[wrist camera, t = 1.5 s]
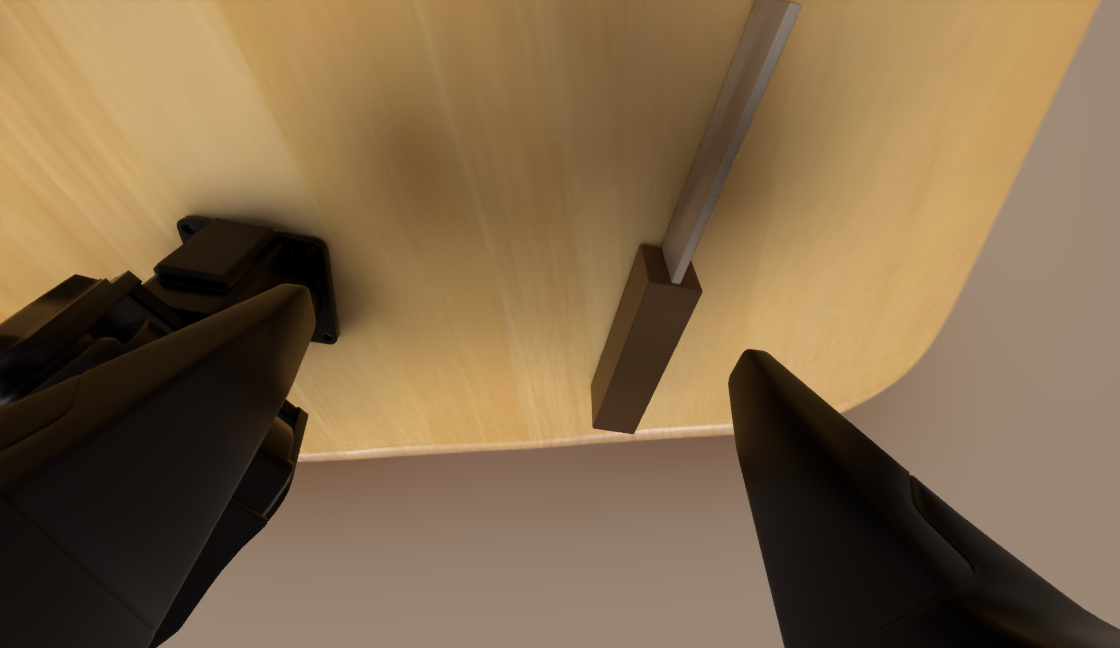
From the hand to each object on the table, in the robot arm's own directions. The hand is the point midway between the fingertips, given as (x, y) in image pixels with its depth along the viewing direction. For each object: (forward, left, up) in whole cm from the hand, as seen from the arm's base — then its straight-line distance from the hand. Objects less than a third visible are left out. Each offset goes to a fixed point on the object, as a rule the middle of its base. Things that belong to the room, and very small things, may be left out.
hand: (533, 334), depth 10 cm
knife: (-4, -6, -12) cm, 14 cm away
